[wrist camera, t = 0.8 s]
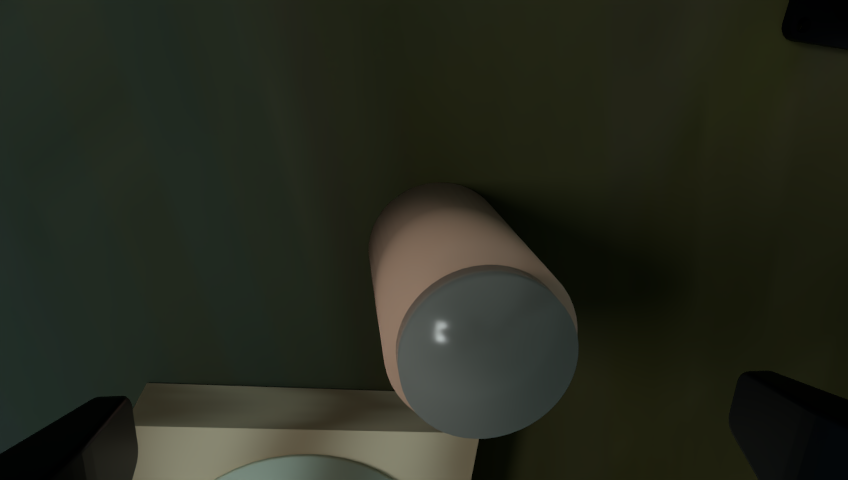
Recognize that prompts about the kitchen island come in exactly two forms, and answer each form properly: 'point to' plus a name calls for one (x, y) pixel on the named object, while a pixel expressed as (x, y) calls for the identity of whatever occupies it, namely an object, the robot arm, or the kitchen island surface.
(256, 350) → the kitchen island surface
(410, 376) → the spice jar
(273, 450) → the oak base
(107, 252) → the kitchen island surface
